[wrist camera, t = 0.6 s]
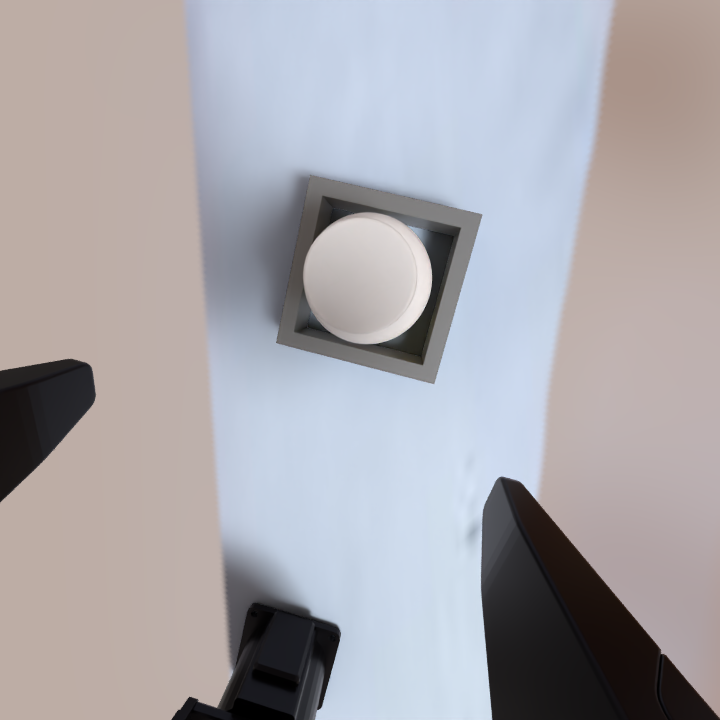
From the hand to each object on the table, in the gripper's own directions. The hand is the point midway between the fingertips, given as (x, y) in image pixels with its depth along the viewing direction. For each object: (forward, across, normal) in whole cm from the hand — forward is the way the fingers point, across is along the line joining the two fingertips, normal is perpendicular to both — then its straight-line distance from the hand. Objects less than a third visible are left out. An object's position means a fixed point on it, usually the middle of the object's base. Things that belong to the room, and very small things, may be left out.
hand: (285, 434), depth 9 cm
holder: (+16, 0, +1) cm, 16 cm away
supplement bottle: (+16, 0, +1) cm, 16 cm away
